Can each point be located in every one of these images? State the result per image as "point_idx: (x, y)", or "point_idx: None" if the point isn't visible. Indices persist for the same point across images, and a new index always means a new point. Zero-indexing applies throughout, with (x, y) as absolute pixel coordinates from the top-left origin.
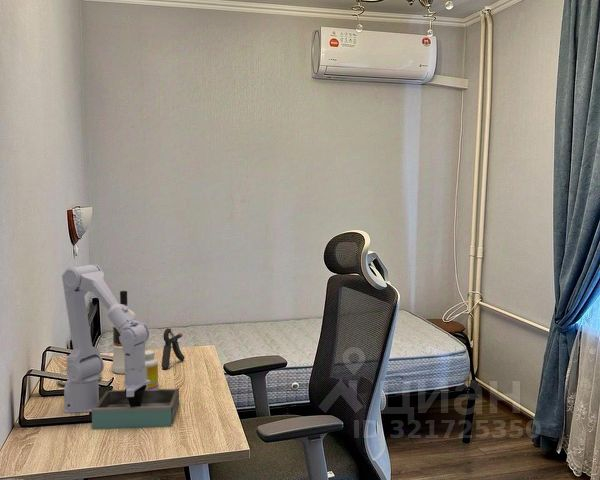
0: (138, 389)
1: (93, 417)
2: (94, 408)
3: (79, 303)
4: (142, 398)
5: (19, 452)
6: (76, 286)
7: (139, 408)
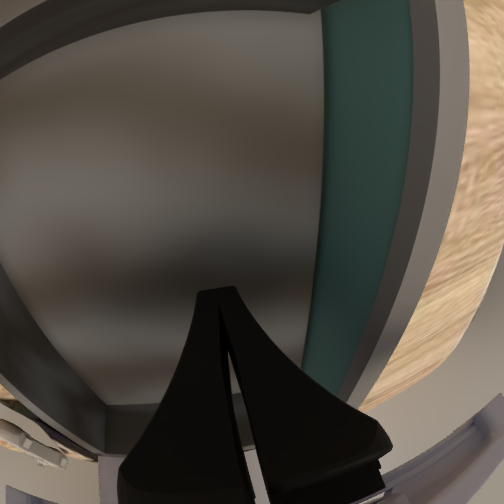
0: (315, 492)
1: None
2: None
3: None
4: (17, 333)
5: (381, 398)
6: None
7: (421, 292)
